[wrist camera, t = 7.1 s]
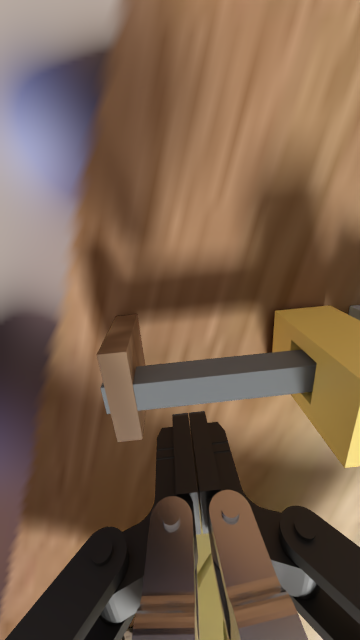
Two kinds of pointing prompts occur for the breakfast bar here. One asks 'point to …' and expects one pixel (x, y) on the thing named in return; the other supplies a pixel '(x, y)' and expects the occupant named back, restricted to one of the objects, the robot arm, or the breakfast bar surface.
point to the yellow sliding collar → (327, 373)
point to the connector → (354, 311)
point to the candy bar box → (128, 634)
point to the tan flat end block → (122, 376)
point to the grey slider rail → (221, 379)
